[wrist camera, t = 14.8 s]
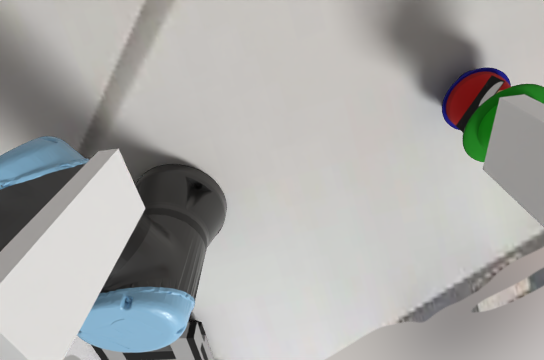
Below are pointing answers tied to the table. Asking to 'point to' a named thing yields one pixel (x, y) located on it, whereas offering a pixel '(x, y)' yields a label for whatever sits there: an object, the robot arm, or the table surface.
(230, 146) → the table surface
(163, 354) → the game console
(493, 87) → the toy
